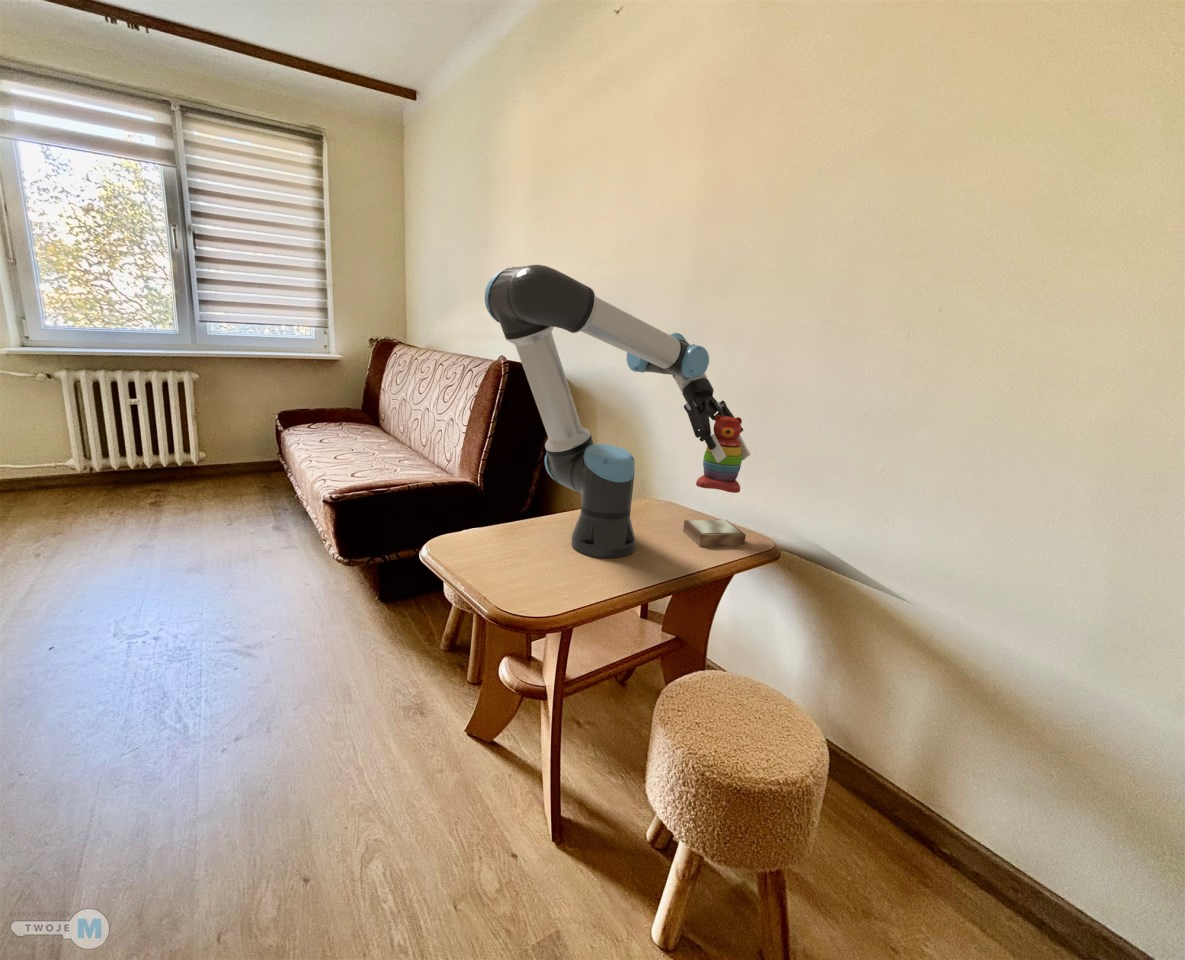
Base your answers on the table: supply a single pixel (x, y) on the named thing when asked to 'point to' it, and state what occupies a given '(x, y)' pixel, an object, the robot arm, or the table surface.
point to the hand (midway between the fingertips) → (734, 458)
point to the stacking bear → (728, 468)
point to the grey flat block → (713, 533)
